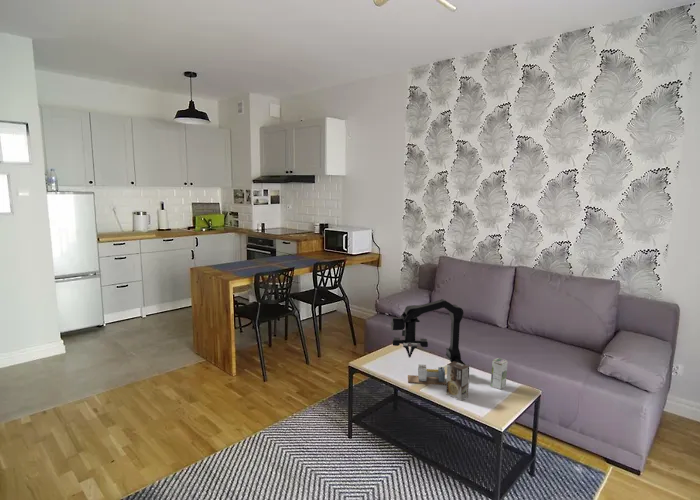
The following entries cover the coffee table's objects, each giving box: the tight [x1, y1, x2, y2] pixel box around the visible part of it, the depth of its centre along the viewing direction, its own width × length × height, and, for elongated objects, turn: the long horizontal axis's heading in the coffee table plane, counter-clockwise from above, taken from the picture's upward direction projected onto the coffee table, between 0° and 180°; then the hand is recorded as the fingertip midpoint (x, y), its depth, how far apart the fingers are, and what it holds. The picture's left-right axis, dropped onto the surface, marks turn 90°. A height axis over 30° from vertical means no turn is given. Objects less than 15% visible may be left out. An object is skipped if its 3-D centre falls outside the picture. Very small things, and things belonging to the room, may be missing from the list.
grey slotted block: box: [417, 364, 428, 382], centre depth 226 cm, size 4×7×7 cm, turn 174°
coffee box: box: [445, 361, 470, 401], centre depth 209 cm, size 9×6×16 cm
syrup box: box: [490, 357, 509, 390], centre depth 219 cm, size 6×6×14 cm
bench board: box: [407, 374, 447, 386], centre depth 226 cm, size 20×8×1 cm, turn 84°
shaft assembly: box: [427, 366, 446, 383], centre depth 225 cm, size 13×5×6 cm, turn 84°
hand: (409, 357), depth 228 cm, fingers closed
